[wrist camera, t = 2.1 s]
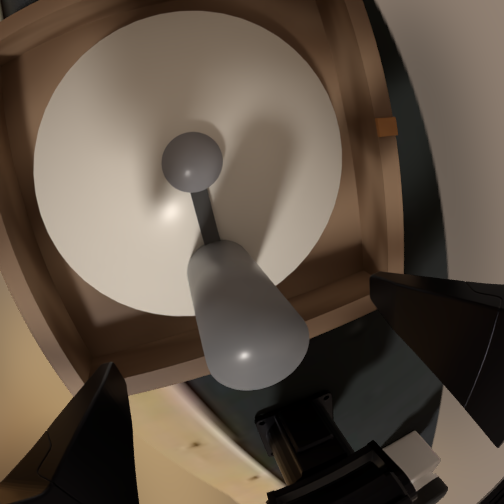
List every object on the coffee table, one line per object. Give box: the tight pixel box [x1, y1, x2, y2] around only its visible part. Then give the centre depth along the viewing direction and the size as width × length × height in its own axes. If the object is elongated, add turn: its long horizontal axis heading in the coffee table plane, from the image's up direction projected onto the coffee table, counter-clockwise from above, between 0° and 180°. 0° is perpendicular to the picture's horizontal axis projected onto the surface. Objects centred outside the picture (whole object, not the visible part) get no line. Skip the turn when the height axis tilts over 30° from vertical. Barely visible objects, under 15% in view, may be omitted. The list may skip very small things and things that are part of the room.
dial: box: [34, 11, 342, 390], centre depth 9 cm, size 14×14×7 cm
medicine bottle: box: [383, 431, 448, 504], centre depth 27 cm, size 7×7×12 cm
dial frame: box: [0, 0, 404, 397], centre depth 12 cm, size 19×19×4 cm
